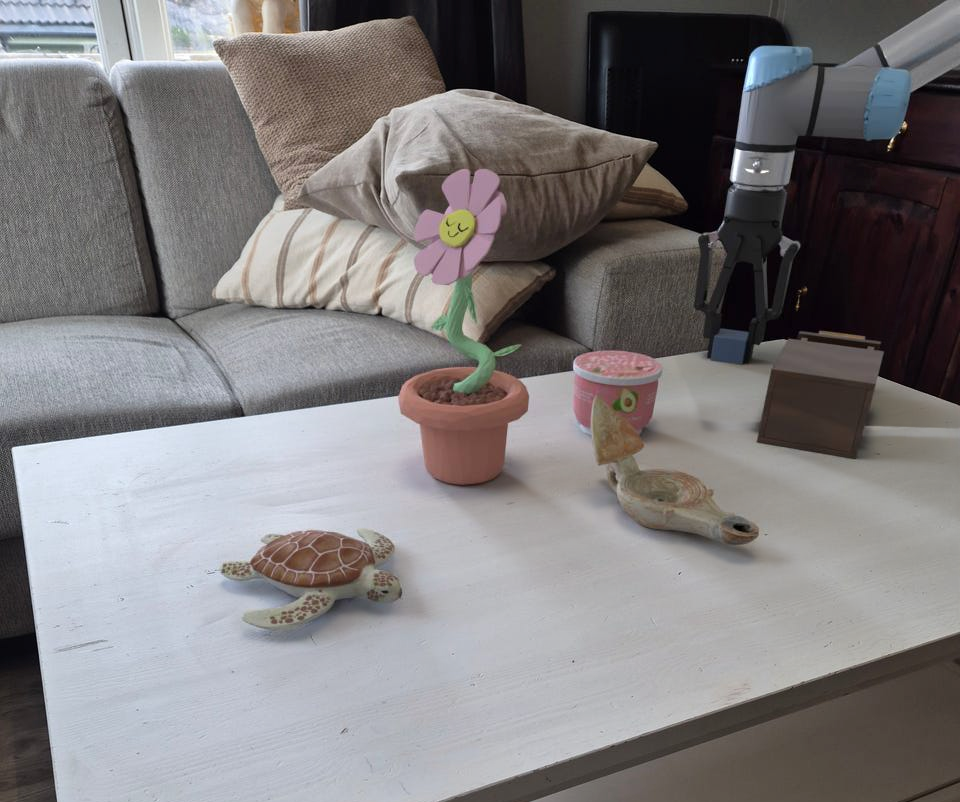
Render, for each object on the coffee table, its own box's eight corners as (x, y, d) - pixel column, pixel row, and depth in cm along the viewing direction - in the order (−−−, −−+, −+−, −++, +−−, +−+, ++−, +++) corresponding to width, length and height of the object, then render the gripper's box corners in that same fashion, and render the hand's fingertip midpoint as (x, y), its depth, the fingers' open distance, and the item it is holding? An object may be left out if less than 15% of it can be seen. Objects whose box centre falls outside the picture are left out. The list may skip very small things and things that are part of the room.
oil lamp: (614, 475, 102) (624, 386, 96) (777, 549, 88) (800, 451, 83) (558, 496, 97) (565, 404, 91) (721, 577, 84) (741, 475, 78)
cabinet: (774, 406, 121) (788, 338, 116) (865, 421, 117) (883, 351, 112) (756, 442, 110) (771, 368, 105) (855, 459, 107) (875, 383, 102)
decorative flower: (370, 462, 103) (355, 164, 86) (467, 435, 110) (471, 154, 93) (451, 511, 94) (451, 185, 77) (551, 477, 101) (572, 173, 84)
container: (554, 432, 112) (558, 367, 107) (589, 407, 119) (595, 345, 115) (635, 451, 107) (643, 384, 103) (666, 423, 115) (675, 359, 110)
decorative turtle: (341, 667, 71) (337, 612, 68) (175, 611, 77) (165, 559, 74) (452, 565, 84) (453, 516, 82) (303, 524, 90) (299, 477, 88)
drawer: (794, 371, 130) (806, 319, 126) (870, 382, 127) (884, 329, 123) (774, 413, 116) (786, 356, 112) (858, 426, 113) (873, 368, 109)
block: (715, 359, 136) (720, 328, 133) (746, 363, 134) (752, 332, 132) (709, 367, 132) (714, 336, 130) (740, 372, 131) (746, 340, 128)
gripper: (685, 184, 120) (662, 362, 133) (824, 195, 114) (786, 380, 128) (698, 177, 126) (675, 348, 139) (831, 187, 120) (793, 365, 133)
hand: (728, 363), depth 133 cm, fingers closed on block, 4 cm apart
